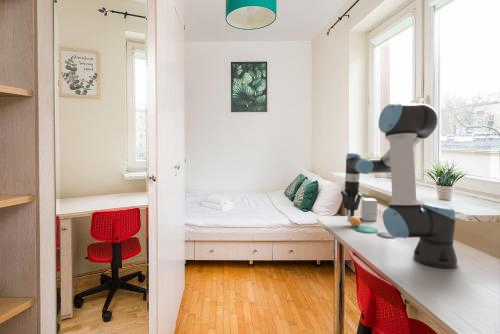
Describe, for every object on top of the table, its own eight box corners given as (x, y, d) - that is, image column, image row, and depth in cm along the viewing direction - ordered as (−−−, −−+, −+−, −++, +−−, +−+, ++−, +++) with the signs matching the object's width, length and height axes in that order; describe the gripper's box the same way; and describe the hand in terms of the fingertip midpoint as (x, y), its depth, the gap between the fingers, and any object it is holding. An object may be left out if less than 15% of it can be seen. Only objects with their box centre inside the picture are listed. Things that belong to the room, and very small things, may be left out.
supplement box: (372, 217, 184) (373, 198, 183) (376, 221, 177) (377, 200, 175) (360, 217, 185) (361, 197, 184) (364, 220, 177) (364, 200, 176)
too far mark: (399, 236, 150) (399, 235, 150) (390, 239, 145) (390, 239, 145) (382, 231, 158) (382, 231, 158) (373, 234, 152) (373, 234, 152)
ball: (359, 228, 167) (364, 221, 164) (353, 229, 164) (358, 223, 161) (352, 221, 170) (357, 214, 167) (346, 222, 167) (351, 215, 164)
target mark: (382, 230, 160) (382, 229, 160) (369, 235, 152) (369, 234, 152) (361, 224, 170) (361, 224, 170) (347, 228, 162) (347, 228, 162)
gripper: (366, 181, 163) (364, 223, 165) (346, 178, 173) (344, 217, 176) (358, 183, 158) (356, 225, 161) (338, 179, 168) (336, 219, 171)
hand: (350, 221), depth 168 cm, fingers closed
